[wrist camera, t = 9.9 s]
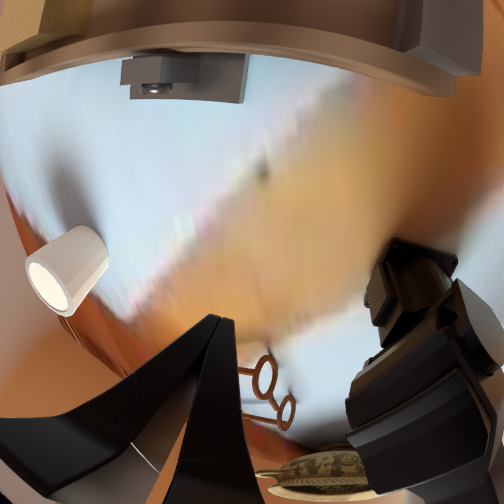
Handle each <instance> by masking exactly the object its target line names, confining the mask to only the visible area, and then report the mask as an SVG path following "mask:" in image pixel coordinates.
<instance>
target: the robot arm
mask: <svg viewBox="0 0 504 504" xmlns="http://www.w3.org/2000/svg"><path fill="white" fill-rule="evenodd" d="M394 244H398V245H397V246H396V247H393V245H394ZM452 260H454V261H453V262H452V263H451V261H452ZM457 265H458V258H457V257H456V256H455V255H454V254H450V253H447V252H444V251H441V250H437V249H434V248H431V247H427V246H424V245H420V244H417V243H413V242H410V241H406V240H403V239H399V238H393V239H391V240H390V242H389V244H388V246H387V249H386V251H385V254H384V256H383V258H382V261H380V262H379V263H378V264H377V266H376V268H375V270H374V272H373V275H372V277H371V279H370V281H369V284H368V286H367V294H366V296H365V298H364V306H365V307H366V308H370V313H371V320H372V324H373V326H376V327H378V331H379V338H380V345H381V348H384V349H383V350H382V351H380V352H379V353H378V354H377V355H375V356H374V357H373V358H372V357H371V358H369V359H368V360H367V361H365V363H364V367H363V370H362V371H360V372H359V373H357V375H356V376H355V378H354V380H353V381H352V383H351V388H350V392H349V397H347V398H346V399H345V406H346V414H347V417H348V421H349V424H350V426H351V428H352V431H350V432H348V433H346V434H345V438H346V439H347V440H348V441H349V442H350V443H351V445H352V446H353V447H354V448H355V449H356V451H357V453H358V455H359V456H360V458H361V460H362V463H363V466H364V469H365V473H366V477H367V481H368V484H369V486H370V487H371V488H372V489H373V490H374V492H375V493H376V494H377V495H379V496H381V495H386V494H390V493H393V492H396V491H400V490H404V489H406V490H408V491H410V492H411V493H413V494H415V495H417V496H419V497H420V498H422V500H423V501H424V503H425V504H504V446H503V443H502V436H503V431H504V373H503V371H502V368H501V366H503V364H504V330H503V328H502V326H501V324H500V322H499V321H498V319H497V317H496V316H495V314H494V312H493V311H492V309H491V308H490V306H489V305H487V304H486V303H485V302H484V301H483V300H482V299H481V298H480V297H479V296H478V295H477V294H475V293H474V292H473V291H472V290H471V289H470V288H469V287H467V286H466V285H465V284H464V283H463V282H462V281H461V280H459V279H458V278H456V279H455V281H454V282H453V280H452V278H451V276H452V274H453V272H454V270H455V268H456V266H457ZM368 302H369V303H368ZM188 416H189V418H188ZM187 418H188V422H187V426H186V430H185V434H184V438H183V442H182V446H181V450H180V454H179V458H178V463H177V466H176V469H175V473H174V476H173V479H172V482H171V484H170V487H169V489H168V491H167V494H166V496H165V498H164V501H163V503H162V504H265V502H264V500H263V497H262V494H261V492H260V489H259V486H258V483H257V479H256V476H255V472H254V469H253V465H252V462H251V459H250V454H249V451H248V447H247V442H246V438H245V432H244V425H243V417H242V409H241V397H240V385H239V374H238V362H237V349H236V336H235V323H234V320H233V319H229V318H225V317H222V318H221V316H218V315H214V314H208V315H207V316H206V317H204V318H203V319H202V320H200V321H199V322H198V323H197V324H195V325H194V326H193V327H192V328H190V329H189V330H188V331H186V332H185V333H184V334H182V335H181V336H180V337H179V338H177V339H176V340H175V341H173V342H172V343H171V344H169V345H168V346H167V347H166V348H164V349H163V350H162V351H160V352H159V353H158V354H156V355H155V356H154V357H152V358H151V359H150V360H149V361H147V362H146V363H145V364H143V365H142V366H141V367H139V368H138V369H137V370H135V371H134V373H131V374H130V375H128V376H127V377H126V378H124V379H123V380H122V381H120V382H119V383H117V384H116V385H114V386H113V387H112V388H110V389H108V390H107V391H105V392H103V393H101V394H100V395H98V396H96V397H94V398H93V399H91V400H89V401H87V402H85V403H83V404H82V405H80V406H78V407H76V408H74V409H72V410H70V411H69V412H66V413H63V414H61V415H57V416H51V417H36V418H0V504H145V503H146V501H147V498H148V496H149V495H150V493H151V491H152V489H153V487H154V485H155V483H156V481H157V479H158V477H159V474H160V473H161V471H162V469H163V466H164V465H165V463H166V461H167V459H168V457H169V454H170V452H171V450H172V448H173V446H174V444H175V442H176V440H177V438H178V436H179V434H180V432H181V430H182V428H183V426H184V424H185V422H186V420H187Z"/></svg>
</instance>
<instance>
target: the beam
mask: <svg viewBox="0 0 504 504" xmlns="http://www.w3.org/2000/svg"><path fill="white" fill-rule="evenodd" d="M482 50H483V0H94V2H93V6H92V10H91V15H90V20H89V25H88V30H87V35H84V36H80V37H76V38H73V39H69V40H66V41H63V42H59V43H56V44H53V45H50V46H47V47H44V48H42V49H39V50H36V51H28V52H19V53H11V54H5V55H1V60H0V86H3V85H7V84H11V83H16V82H21V81H26V80H31V79H34V78H37V77H40V76H43V75H46V74H50V73H53V72H57V71H60V70H64V69H68V68H72V67H76V66H80V65H84V64H89V63H94V62H99V61H104V60H110V59H116V58H123V57H130V56H139V55H148V54H160V53H176V52H229V53H245V54H257V55H267V56H276V57H283V58H290V59H296V60H302V61H308V62H313V63H318V64H323V65H328V66H332V67H337V68H341V69H345V70H349V71H353V72H356V73H360V74H364V75H367V76H370V77H374V78H377V79H380V80H383V81H386V82H389V83H392V84H395V85H398V86H401V87H403V88H406V89H409V90H411V91H414V92H416V93H419V94H421V95H424V96H438V97H452V98H453V96H454V90H455V84H456V77H459V76H480V72H481V62H482Z"/></svg>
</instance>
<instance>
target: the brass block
mask: <svg viewBox="0 0 504 504" xmlns="http://www.w3.org/2000/svg"><path fill="white" fill-rule="evenodd" d="M93 2H94V0H5V3H4V7H3V11H2V15H1V19H0V55H5V54H11V53H19V52H28V51H36V50H39V49H42V48H44V47H47V46H50V45H53V44H56V43H59V42H63V41H66V40H69V39H73V38H76V37H80V36H84V35H87V30H88V25H89V20H90V15H91V10H92V6H93Z"/></svg>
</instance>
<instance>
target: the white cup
mask: <svg viewBox="0 0 504 504" xmlns="http://www.w3.org/2000/svg"><path fill="white" fill-rule="evenodd" d="M108 265H109V253H108V250H107V247H106V245H105V243H104V242H103V240H102V239H101V237H100V236H99V235H98V234H97V233H96V232H95V231H94V230H93V229H91V228H89V227H87V226H77V227H75V228H73V229H71V230H70V231H68V232H66V233H65V234H63V235H61V236H60V237H58V238H57V239H55V240H53V241H52V242H50V243H48V244H47V245H45V246H44V247H42V248H41V249H39V250H38V251H36V252H34V253H33V254H31V255H30V256H29V257H28V258H27V259H26V265H25V268H26V272H27V276H28V279H29V281H30V283H31V285H32V286H33V289H34V290H35V291H36V293H37V294H38V296H39V297H40V298H41V300H42V301H43V302H44V303H45V304H46V305H47V306H48V307H49V308H51V309H52V310H53V311H55V312H56V313H58V314H59V315H62V316H65V317H68V316H71V315H73V313H74V312H75V310H76V309H77V307H78V306H79V305H80V303H81V302H82V301H83V299H84V298H85V296H86V295H87V294H88V292H89V291H90V290H91V288H92V287H93V286H94V284H95V283H96V282H97V280H98V279H99V278H100V276H101V275H102V274H103V273H104V271H105V270H106V269H107V267H108Z"/></svg>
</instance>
